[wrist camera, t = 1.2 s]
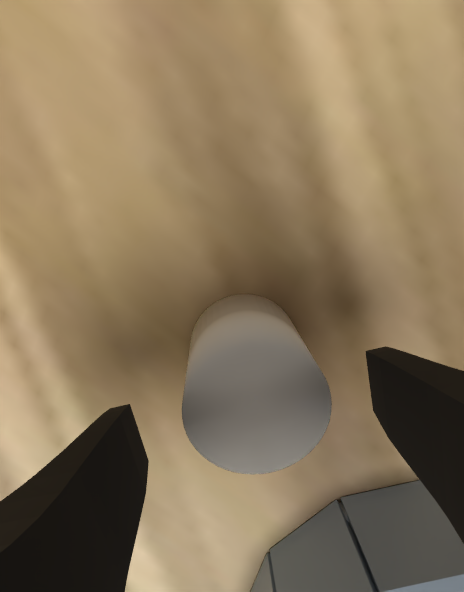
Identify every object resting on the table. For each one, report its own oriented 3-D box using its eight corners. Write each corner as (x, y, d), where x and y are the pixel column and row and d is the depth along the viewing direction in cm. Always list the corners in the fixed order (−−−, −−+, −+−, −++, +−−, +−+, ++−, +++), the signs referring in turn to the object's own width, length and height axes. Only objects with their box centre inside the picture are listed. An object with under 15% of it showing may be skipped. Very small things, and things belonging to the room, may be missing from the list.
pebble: (285, 283, 16) (319, 325, 11) (303, 379, 17) (341, 456, 12) (178, 307, 16) (164, 360, 11) (204, 402, 17) (201, 487, 12)
